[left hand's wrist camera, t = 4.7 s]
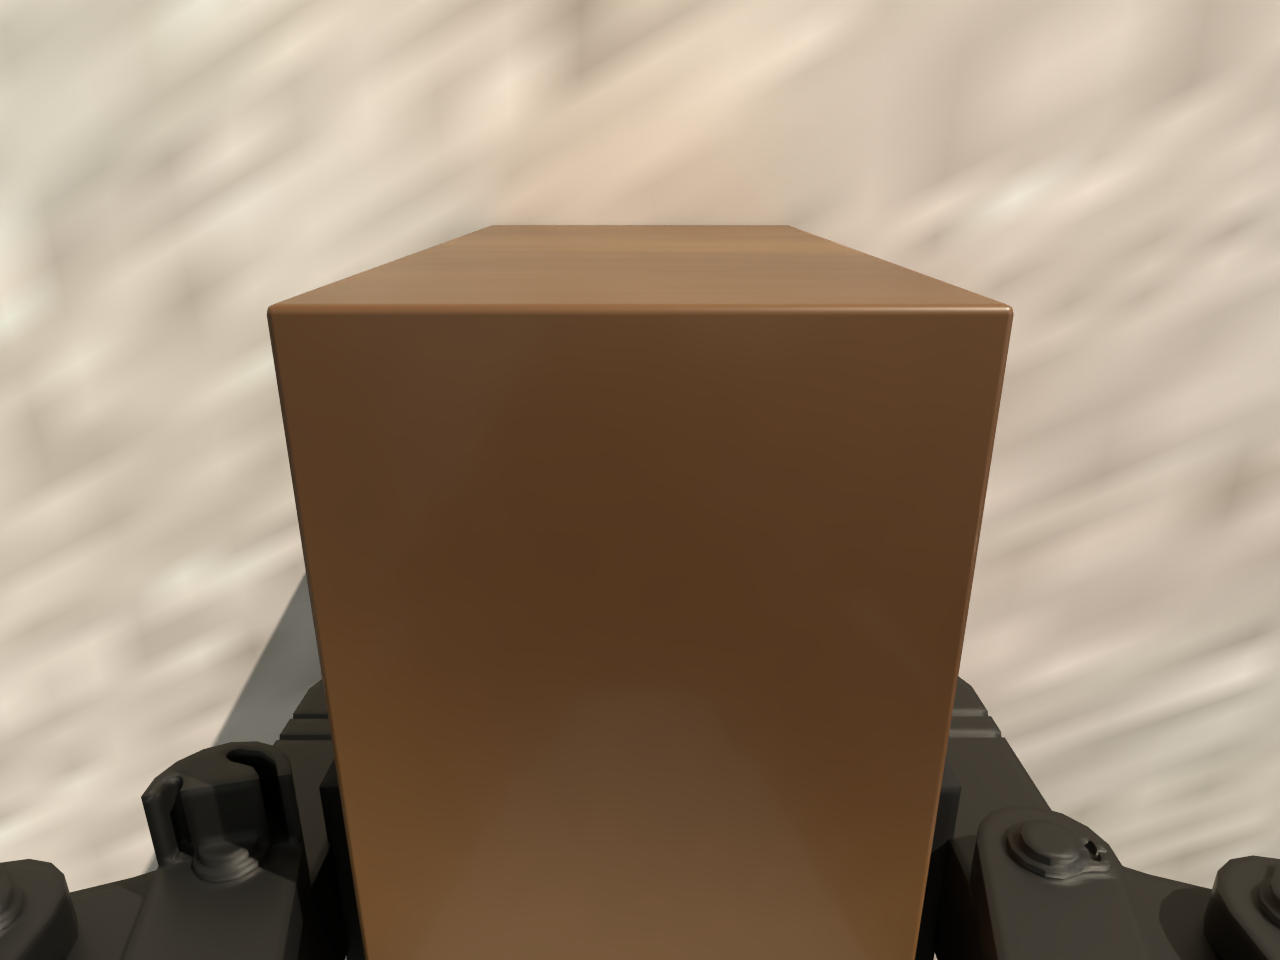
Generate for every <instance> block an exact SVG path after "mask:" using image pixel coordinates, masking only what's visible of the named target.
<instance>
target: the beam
mask: <svg viewBox="0 0 1280 960" xmlns="http://www.w3.org/2000/svg"><path fill="white" fill-rule="evenodd" d="M267 319H268V325H269V332H270V339H271V345H272V352H273V358H274V365H275V371H276V378H277V384H278V391H279V398H280V404H281V411H282V417H283V424H284V430H285V437H286V443H287V450H288V457H289V463H290V470H291V476H292V483H293V489H294V496H295V502H296V509H297V516H298V522H299V529H300V535H301V542H302V548H303V555H304V561H305V568H306V575H307V581H308V588H309V594H310V601H311V607H312V614H313V620H314V627H315V634H316V640H317V647H318V653H319V660H320V666H321V673H322V679H323V686H324V693H325V699H326V706H327V712H328V719H329V725H330V732H331V738H332V745H333V752H334V758H335V765H336V771H337V778H338V784H339V791H340V797H341V804H342V811H343V817H344V824H345V830H346V837H347V843H348V850H349V856H350V863H351V870H352V876H353V883H354V889H355V896H356V902H357V909H358V915H359V922H360V929H361V935H362V942H363V948H364V955H365V960H915V954H916V947H917V941H918V934H919V928H920V921H921V915H922V908H923V902H924V895H925V889H926V882H927V876H928V869H929V863H930V856H931V849H932V843H933V836H934V830H935V823H936V817H937V810H938V804H939V797H940V791H941V784H942V778H943V771H944V765H945V758H946V752H947V745H948V739H949V732H950V725H951V719H952V712H953V706H954V699H955V693H956V686H957V680H958V673H959V667H960V660H961V654H962V647H963V641H964V634H965V628H966V621H967V615H968V608H969V601H970V595H971V588H972V582H973V575H974V569H975V562H976V556H977V549H978V543H979V536H980V530H981V523H982V517H983V510H984V504H985V497H986V491H987V484H988V477H989V471H990V464H991V458H992V451H993V445H994V438H995V432H996V425H997V419H998V412H999V406H1000V399H1001V393H1002V386H1003V380H1004V373H1005V367H1006V360H1007V353H1008V347H1009V340H1010V334H1011V327H1012V321H1013V309H1012V307H1011V306H1008V305H1006V304H1004V303H1001V302H998V301H995V300H993V299H990V298H987V297H984V296H982V295H979V294H976V293H973V292H971V291H968V290H965V289H962V288H959V287H957V286H954V285H951V284H948V283H946V282H943V281H940V280H937V279H935V278H932V277H929V276H926V275H923V274H921V273H918V272H915V271H912V270H910V269H907V268H904V267H901V266H899V265H896V264H893V263H890V262H887V261H885V260H882V259H879V258H876V257H874V256H871V255H868V254H865V253H863V252H860V251H857V250H854V249H852V248H849V247H846V246H843V245H840V244H838V243H835V242H832V241H829V240H827V239H824V238H821V237H818V236H816V235H813V234H810V233H807V232H804V231H802V230H799V229H796V228H793V227H791V226H788V225H492V226H489V227H487V228H484V229H481V230H478V231H475V232H473V233H470V234H467V235H464V236H462V237H459V238H456V239H453V240H450V241H448V242H445V243H442V244H439V245H437V246H434V247H431V248H428V249H426V250H423V251H420V252H417V253H414V254H412V255H409V256H406V257H403V258H401V259H398V260H395V261H392V262H390V263H387V264H384V265H381V266H378V267H376V268H373V269H370V270H367V271H365V272H362V273H359V274H356V275H354V276H351V277H348V278H345V279H342V280H340V281H337V282H334V283H331V284H329V285H326V286H323V287H320V288H318V289H315V290H312V291H309V292H306V293H304V294H301V295H298V296H295V297H293V298H290V299H287V300H284V301H281V302H279V303H276V304H274V305H271V306H269V307H268V311H267Z"/></svg>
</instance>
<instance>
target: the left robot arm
mask: <svg viewBox="0 0 1280 960" xmlns="http://www.w3.org/2000/svg"><path fill="white" fill-rule="evenodd" d="M141 799H142V802H143V806H144V810H145V814H146V818H147V822H148V826H149V830H150V834H151V838H152V842H153V846H154V850H155V854H156V857H157V861H158V865H159V866H158V869H157V870H156V871H152V872H149V873H146V874H143V875H140V876H136V877H133V878H129V879H125V880H121V881H117V882H112V883H108V884H104V885H100V886H96V887H91V888H87V889H83V890H79V891H75V892H70V893H69V889H68V886H67V883H66V880H65V876H64V874H63V873H62V872H61V871H60V870H59V869H57V868H56V867H55V866H54V865H53V864H52V863H49V862H43V861H38V860H32V859H25V860H18V861H10V862H3V863H0V960H344V959H345V957H346V956H347V960H365V955H364V948H363V942H362V935H361V929H360V922H359V915H358V909H357V902H356V896H355V889H354V883H353V876H352V870H351V863H350V856H349V850H348V843H347V837H346V830H345V824H344V817H343V811H342V804H341V797H340V791H339V784H338V778H337V771H336V765H335V758H334V752H333V745H332V738H331V732H330V725H329V719H328V712H327V706H326V699H325V693H324V686H323V679H322V680H321V681H319V682H318V683H317V684H315V685H314V686H313V687H311V688H310V689H309V690H308V692H307V693H306V695H305V697H304V698H303V700H302V701H301V703H300V704H299V706H298V707H297V709H296V711H295V712H294V714H293V719H290V720H289V722H288V723H287V725H286V726H285V728H284V729H283V731H282V733H281V734H280V740H276V742H275V743H274V745H273V746H272V745H268V744H264V743H261V742H231V743H227V744H223V745H219V746H215V747H211V748H207V749H203V750H201V751H199V752H197V753H195V754H192V755H190V756H188V757H186V758H184V759H182V760H179V761H177V762H176V763H174V764H173V765H172V766H170V767H169V768H168V769H166V770H165V771H164V772H162V773H161V774H160V775H158V776H157V777H156V778H155V779H154V780H153V781H152V783H151V784H150V785H149V787H148V788H147V790H146V791H145V792H144V794H143V795H142V796H141ZM934 953H935V954H936V957H937V959H938V960H1280V859H1274V858H1267V857H1260V856H1248V857H1242V858H1236V859H1230V860H1229V861H1228V862H1227V863H1226V864H1225V865H1224V866H1223V867H1222V868H1221V869H1219V870H1218V872H1217V875H1216V879H1215V882H1214V885H1213V888H1212V889H1208V888H1204V887H1200V886H1195V885H1191V884H1187V883H1183V882H1179V881H1174V880H1170V879H1166V878H1162V877H1158V876H1153V875H1149V874H1146V873H1143V872H1139V871H1136V870H1133V869H1130V868H1126V867H1124V866H1122V865H1121V863H1120V861H1119V860H1118V858H1117V857H1116V855H1115V854H1114V852H1113V850H1112V849H1111V847H1110V846H1109V844H1107V843H1106V842H1105V841H1104V840H1103V839H1101V838H1100V837H1099V836H1098V835H1097V834H1096V833H1094V832H1093V831H1092V830H1091V829H1090V828H1089V827H1087V826H1085V825H1083V824H1081V823H1079V822H1077V821H1075V820H1074V819H1072V818H1070V817H1068V816H1066V815H1064V814H1062V813H1058V812H1055V811H1052V810H1051V809H1050V807H1049V806H1048V804H1047V803H1046V801H1045V800H1044V798H1043V797H1042V795H1041V793H1040V792H1039V790H1038V789H1037V787H1036V786H1035V784H1034V783H1033V781H1032V779H1031V778H1030V776H1029V775H1028V773H1027V772H1026V770H1025V769H1024V767H1023V765H1022V764H1021V762H1020V761H1019V759H1018V758H1017V756H1016V755H1015V753H1014V751H1013V750H1012V748H1011V747H1010V745H1009V744H1008V742H1007V741H1006V739H1005V738H1002V737H1001V731H1000V730H999V728H998V727H997V725H996V723H995V722H994V720H993V719H992V717H991V716H988V711H987V709H986V708H985V706H984V705H983V703H982V702H981V700H980V699H979V697H978V695H977V694H976V692H975V691H974V689H973V688H972V686H970V685H969V684H968V683H966V682H965V681H964V680H962V679H961V678H960V677H958V680H957V686H956V693H955V699H954V706H953V712H952V719H951V725H950V732H949V739H948V745H947V752H946V758H945V765H944V771H943V778H942V784H941V791H940V797H939V804H938V810H937V817H936V823H935V830H934V836H933V843H932V849H931V856H930V863H929V869H928V876H927V882H926V889H925V895H924V902H923V908H922V915H921V921H920V928H919V934H918V941H917V947H916V954H915V960H933V959H934Z"/></svg>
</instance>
